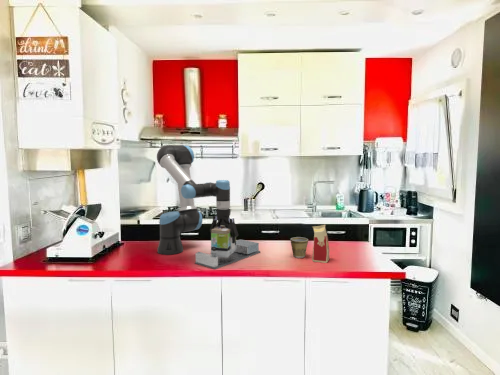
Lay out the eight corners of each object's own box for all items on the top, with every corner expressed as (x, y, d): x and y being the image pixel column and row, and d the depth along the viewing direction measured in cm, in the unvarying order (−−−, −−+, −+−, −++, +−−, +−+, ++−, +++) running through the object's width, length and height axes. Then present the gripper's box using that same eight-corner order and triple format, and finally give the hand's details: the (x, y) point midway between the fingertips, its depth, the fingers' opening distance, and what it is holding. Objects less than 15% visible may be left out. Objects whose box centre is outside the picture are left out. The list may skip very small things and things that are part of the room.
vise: (195, 263, 188) (194, 252, 187) (241, 248, 217) (240, 238, 217) (215, 269, 178) (215, 257, 178) (260, 252, 208) (260, 242, 207)
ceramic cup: (306, 259, 194) (306, 241, 193) (288, 258, 197) (288, 240, 196) (310, 253, 206) (310, 236, 205) (293, 251, 209) (293, 235, 208)
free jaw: (229, 250, 208) (229, 242, 207) (240, 246, 216) (240, 239, 215) (247, 254, 199) (247, 246, 199) (258, 250, 207) (258, 242, 207)
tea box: (228, 257, 185) (228, 230, 184) (210, 256, 188) (210, 229, 186) (236, 250, 200) (236, 224, 198) (219, 249, 202) (219, 224, 201)
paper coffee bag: (329, 258, 196) (330, 223, 194) (327, 263, 187) (328, 226, 186) (313, 256, 199) (313, 222, 197) (310, 261, 190) (310, 225, 188)
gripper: (202, 207, 196) (203, 244, 198) (235, 211, 181) (236, 252, 183) (212, 205, 202) (212, 242, 204) (244, 209, 187) (245, 249, 189)
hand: (223, 247), depth 193 cm, fingers closed on tea box, 12 cm apart
